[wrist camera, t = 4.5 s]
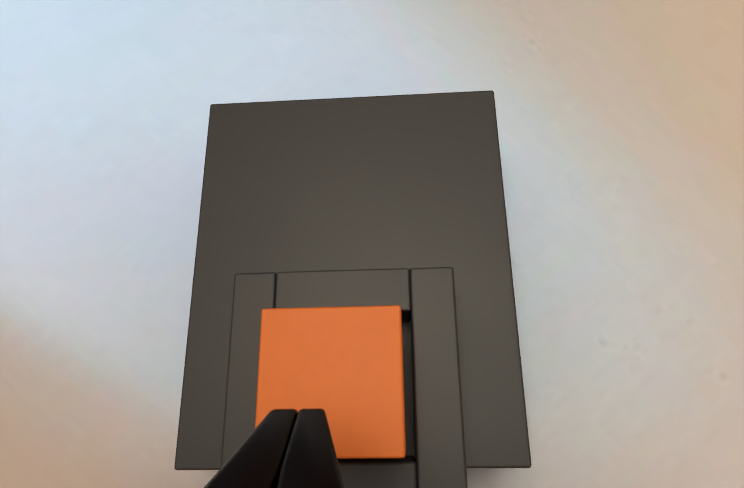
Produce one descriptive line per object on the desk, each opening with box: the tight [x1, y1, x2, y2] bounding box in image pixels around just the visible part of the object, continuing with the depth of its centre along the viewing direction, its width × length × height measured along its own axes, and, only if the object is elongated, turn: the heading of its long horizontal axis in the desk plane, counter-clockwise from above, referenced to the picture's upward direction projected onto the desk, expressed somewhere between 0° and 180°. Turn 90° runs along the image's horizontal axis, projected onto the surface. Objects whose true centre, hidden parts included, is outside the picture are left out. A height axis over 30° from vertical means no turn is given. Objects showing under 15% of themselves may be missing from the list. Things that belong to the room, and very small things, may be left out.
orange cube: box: [255, 305, 406, 459], centre depth 12 cm, size 3×3×3 cm
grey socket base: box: [175, 91, 531, 488], centre depth 17 cm, size 13×10×6 cm
